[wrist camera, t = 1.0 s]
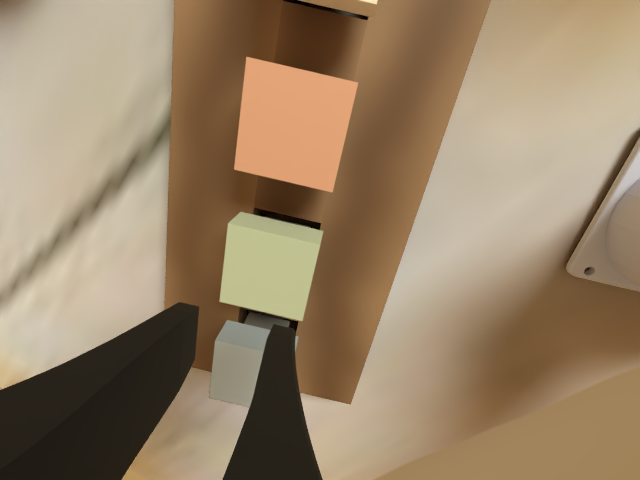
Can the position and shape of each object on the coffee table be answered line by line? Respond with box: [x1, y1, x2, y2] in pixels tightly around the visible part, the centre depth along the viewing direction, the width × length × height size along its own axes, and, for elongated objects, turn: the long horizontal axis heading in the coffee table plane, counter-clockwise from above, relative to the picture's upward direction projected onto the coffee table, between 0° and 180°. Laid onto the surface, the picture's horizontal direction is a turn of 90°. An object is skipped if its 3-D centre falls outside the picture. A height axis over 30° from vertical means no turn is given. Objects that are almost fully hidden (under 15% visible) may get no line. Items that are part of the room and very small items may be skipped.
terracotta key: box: [234, 57, 358, 192], centre depth 13 cm, size 4×4×4 cm
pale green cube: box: [219, 212, 323, 321], centre depth 15 cm, size 4×4×4 cm
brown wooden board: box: [165, 0, 491, 404], centre depth 16 cm, size 12×25×2 cm, turn 168°
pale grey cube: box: [209, 312, 299, 407], centre depth 18 cm, size 4×4×4 cm
